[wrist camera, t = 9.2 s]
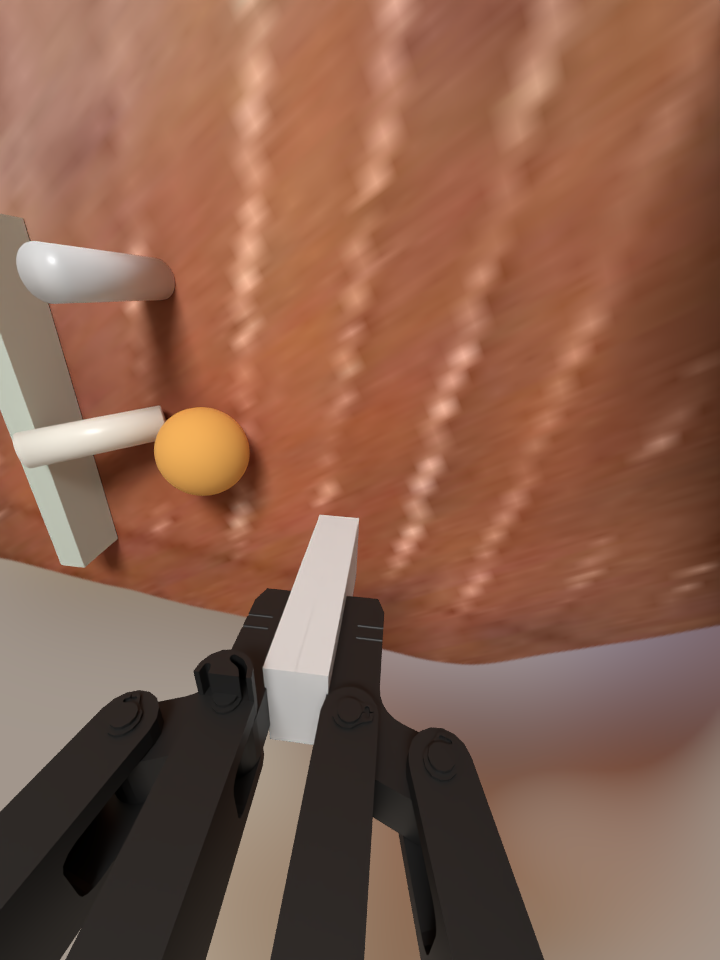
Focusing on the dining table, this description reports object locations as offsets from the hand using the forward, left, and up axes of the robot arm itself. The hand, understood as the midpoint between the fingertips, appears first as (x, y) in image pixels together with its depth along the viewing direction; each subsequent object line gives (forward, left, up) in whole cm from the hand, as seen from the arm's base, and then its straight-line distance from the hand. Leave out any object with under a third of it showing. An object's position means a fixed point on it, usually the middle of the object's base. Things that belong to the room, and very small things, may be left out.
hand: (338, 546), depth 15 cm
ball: (+1, -11, -11) cm, 15 cm away
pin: (0, -15, -13) cm, 19 cm away
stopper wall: (0, -23, -14) cm, 27 cm away
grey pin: (-9, -14, -14) cm, 22 cm away
